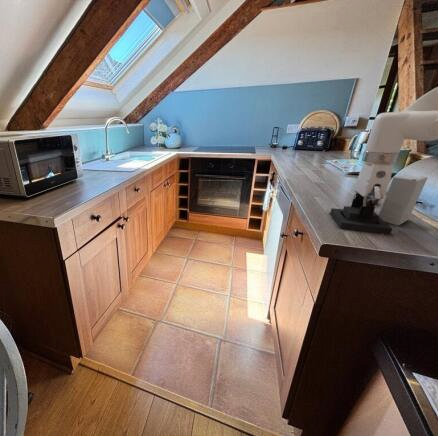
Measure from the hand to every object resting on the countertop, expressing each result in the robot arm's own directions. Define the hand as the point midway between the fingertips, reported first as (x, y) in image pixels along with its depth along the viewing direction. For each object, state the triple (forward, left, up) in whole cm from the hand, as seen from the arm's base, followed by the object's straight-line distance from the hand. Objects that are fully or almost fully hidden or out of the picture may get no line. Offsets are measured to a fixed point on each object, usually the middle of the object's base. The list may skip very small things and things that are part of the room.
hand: (359, 214), depth 78 cm
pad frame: (0, 0, -3) cm, 3 cm away
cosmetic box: (-11, -7, -3) cm, 14 cm away
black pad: (0, 0, -1) cm, 1 cm away
